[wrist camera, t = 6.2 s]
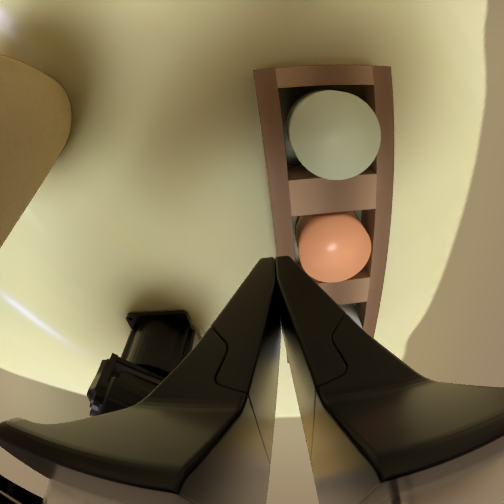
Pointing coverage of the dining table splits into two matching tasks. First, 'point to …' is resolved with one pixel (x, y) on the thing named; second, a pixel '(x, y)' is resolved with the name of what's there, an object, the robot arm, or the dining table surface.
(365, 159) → the sage button
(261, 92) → the brown wooden flat tray
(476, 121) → the dining table surface
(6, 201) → the plant pot
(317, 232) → the terracotta button
